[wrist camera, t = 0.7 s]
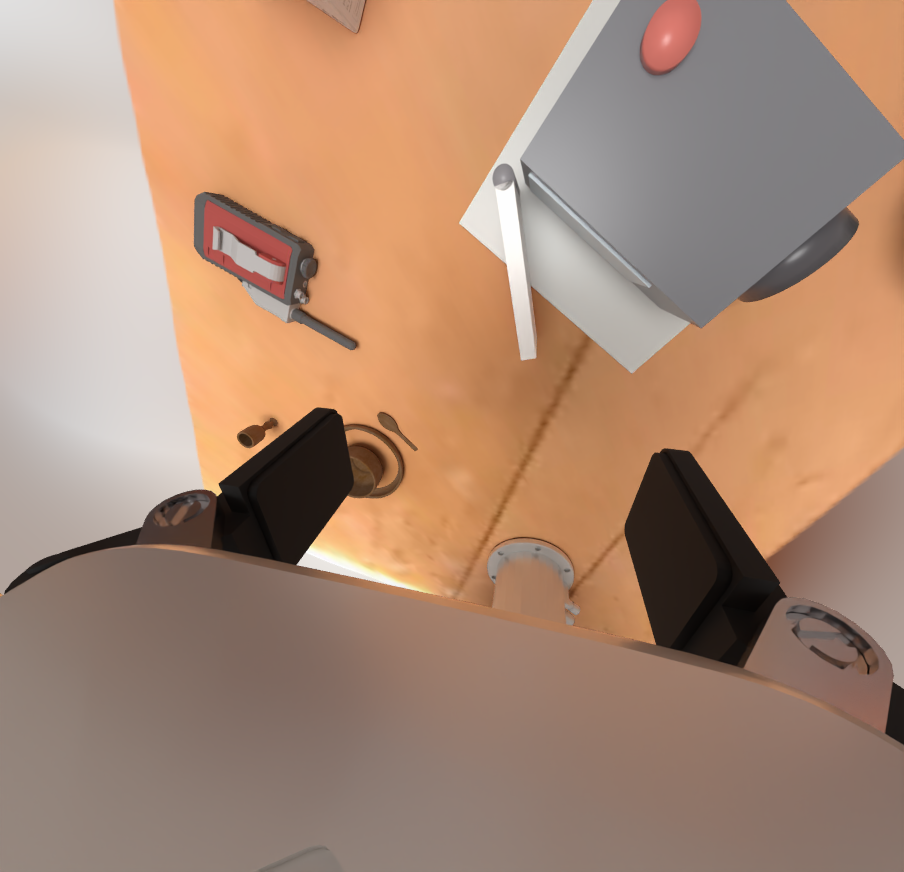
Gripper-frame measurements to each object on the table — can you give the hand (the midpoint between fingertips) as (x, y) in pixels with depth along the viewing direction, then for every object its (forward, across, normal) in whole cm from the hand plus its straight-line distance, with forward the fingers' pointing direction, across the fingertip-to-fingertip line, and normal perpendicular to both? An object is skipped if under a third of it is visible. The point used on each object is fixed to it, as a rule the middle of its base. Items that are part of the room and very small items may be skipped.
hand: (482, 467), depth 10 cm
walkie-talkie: (+28, +26, -2) cm, 38 cm away
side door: (+26, 0, -3) cm, 26 cm away
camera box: (+27, -9, -10) cm, 30 cm away
